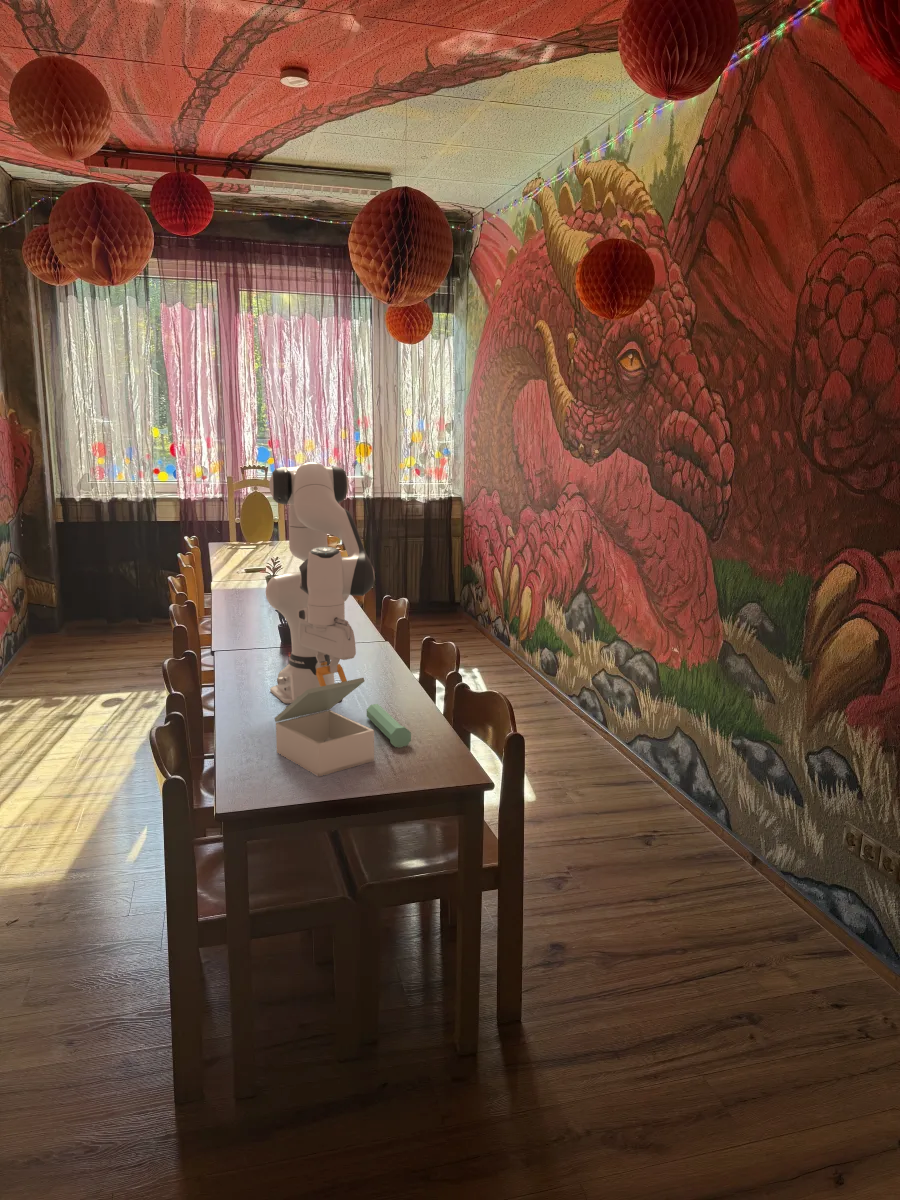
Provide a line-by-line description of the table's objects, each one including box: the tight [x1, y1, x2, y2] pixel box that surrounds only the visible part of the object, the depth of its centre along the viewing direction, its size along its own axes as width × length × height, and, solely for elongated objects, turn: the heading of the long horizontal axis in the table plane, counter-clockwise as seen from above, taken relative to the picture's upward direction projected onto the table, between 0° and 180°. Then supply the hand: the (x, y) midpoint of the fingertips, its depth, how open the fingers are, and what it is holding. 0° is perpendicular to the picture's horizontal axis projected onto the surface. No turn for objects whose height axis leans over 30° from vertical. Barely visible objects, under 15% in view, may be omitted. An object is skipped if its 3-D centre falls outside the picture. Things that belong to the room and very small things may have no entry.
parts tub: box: [275, 709, 375, 778], centre depth 215 cm, size 20×16×8 cm
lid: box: [274, 663, 366, 723], centre depth 216 cm, size 20×16×6 cm
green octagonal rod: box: [366, 703, 412, 748], centre depth 234 cm, size 6×6×25 cm
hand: (327, 670), depth 210 cm, fingers open, 3 cm apart
